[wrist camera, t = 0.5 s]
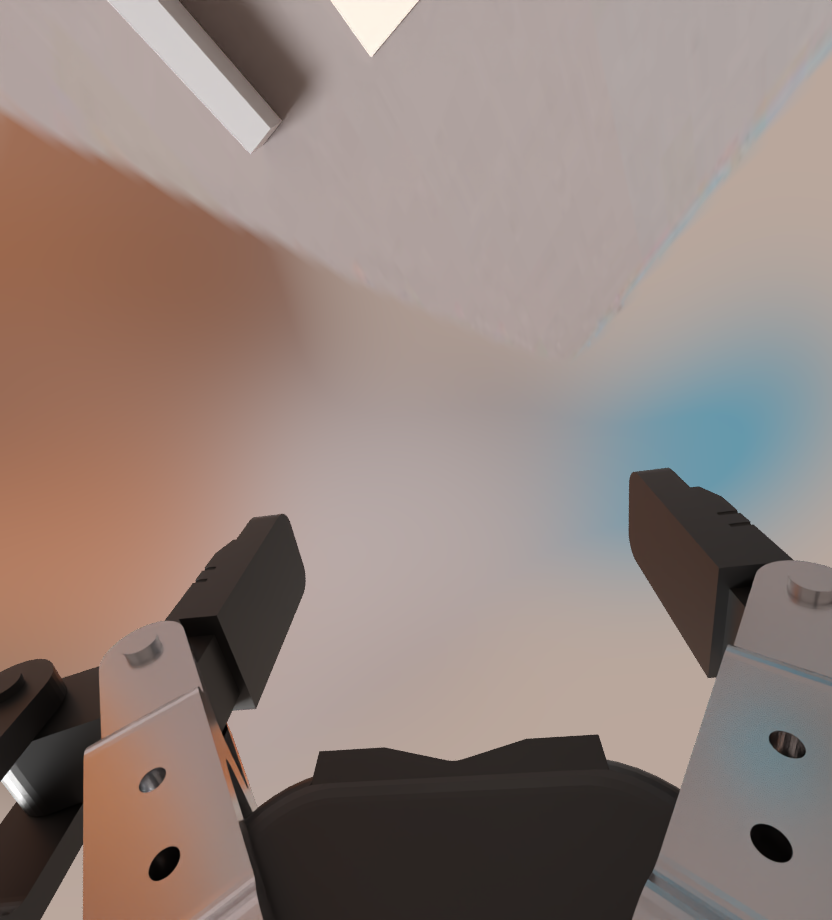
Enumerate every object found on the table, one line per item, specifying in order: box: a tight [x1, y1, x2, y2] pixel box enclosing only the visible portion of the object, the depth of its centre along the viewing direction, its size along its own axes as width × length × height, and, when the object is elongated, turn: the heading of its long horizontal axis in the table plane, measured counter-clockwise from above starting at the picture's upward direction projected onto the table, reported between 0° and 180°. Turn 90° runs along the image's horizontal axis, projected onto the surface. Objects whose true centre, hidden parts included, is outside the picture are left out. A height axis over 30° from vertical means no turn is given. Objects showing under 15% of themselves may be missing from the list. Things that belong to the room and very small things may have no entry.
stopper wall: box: [107, 0, 282, 154], centre depth 27 cm, size 10×2×3 cm, turn 40°
